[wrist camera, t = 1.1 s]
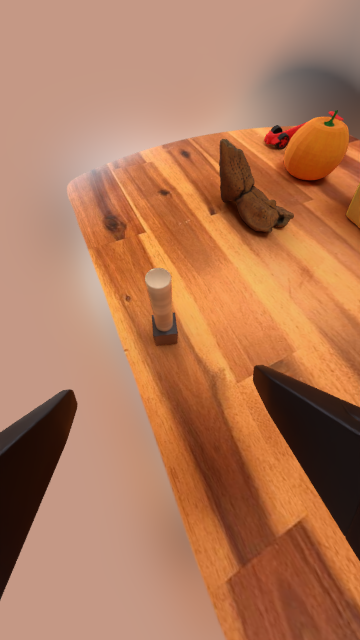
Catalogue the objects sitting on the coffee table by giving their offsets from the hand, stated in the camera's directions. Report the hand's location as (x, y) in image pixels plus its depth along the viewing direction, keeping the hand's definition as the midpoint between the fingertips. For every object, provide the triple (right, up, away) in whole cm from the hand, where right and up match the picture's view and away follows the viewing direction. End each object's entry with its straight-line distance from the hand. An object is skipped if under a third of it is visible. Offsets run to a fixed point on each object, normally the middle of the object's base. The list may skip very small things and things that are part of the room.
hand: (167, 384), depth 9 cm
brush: (-1, +1, +16) cm, 16 cm away
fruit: (+30, +38, +34) cm, 59 cm away
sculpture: (+14, +25, +28) cm, 40 cm away
